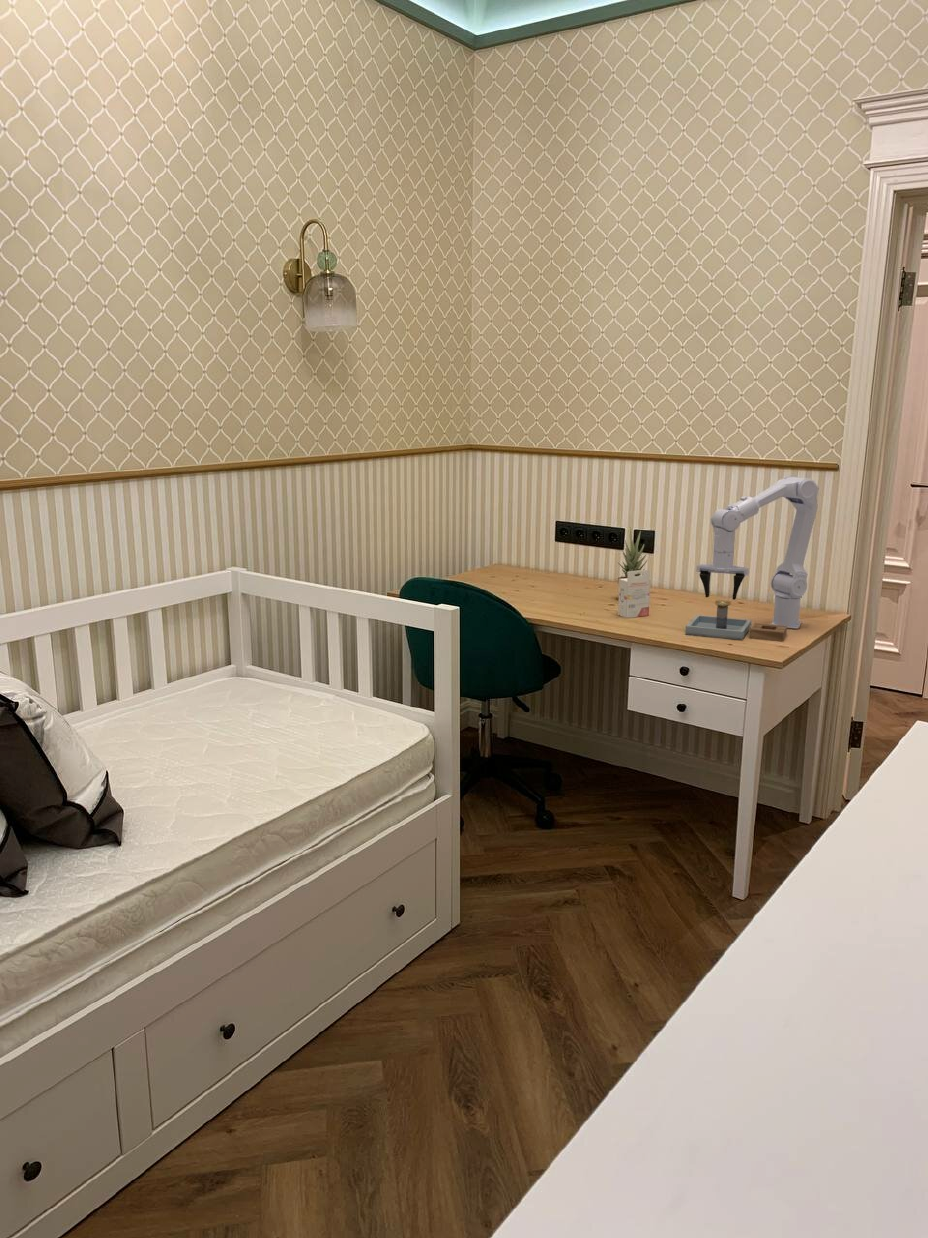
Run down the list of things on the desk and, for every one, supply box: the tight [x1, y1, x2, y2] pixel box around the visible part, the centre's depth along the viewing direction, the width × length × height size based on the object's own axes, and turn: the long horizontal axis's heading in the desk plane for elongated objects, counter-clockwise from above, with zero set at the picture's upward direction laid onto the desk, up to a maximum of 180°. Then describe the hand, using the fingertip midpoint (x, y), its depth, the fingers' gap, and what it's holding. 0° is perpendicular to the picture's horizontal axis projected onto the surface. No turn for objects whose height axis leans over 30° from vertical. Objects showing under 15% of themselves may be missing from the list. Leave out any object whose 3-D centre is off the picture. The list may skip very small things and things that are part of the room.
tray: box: [685, 614, 752, 641], centre depth 283 cm, size 16×16×2 cm
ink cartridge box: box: [617, 569, 651, 619], centre depth 302 cm, size 9×5×15 cm, turn 114°
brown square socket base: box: [749, 622, 788, 642], centre depth 277 cm, size 9×9×2 cm
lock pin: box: [714, 599, 732, 629], centre depth 282 cm, size 4×4×8 cm
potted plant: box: [616, 528, 648, 585], centre depth 324 cm, size 10×10×25 cm
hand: (720, 597), depth 281 cm, fingers open, 7 cm apart
